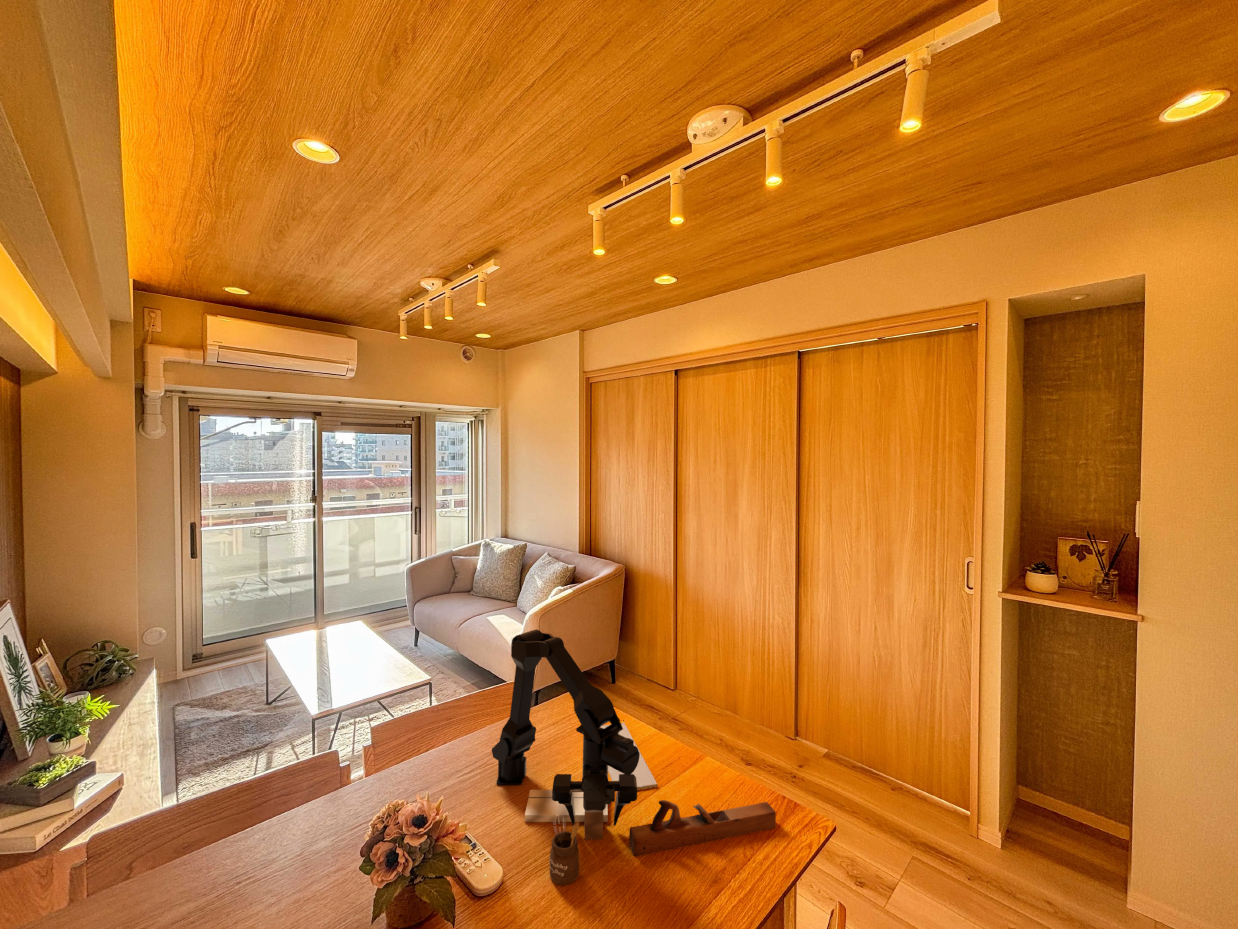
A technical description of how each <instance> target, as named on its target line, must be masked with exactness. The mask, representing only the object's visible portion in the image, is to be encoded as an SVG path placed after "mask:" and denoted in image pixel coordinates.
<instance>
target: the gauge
mask: <svg viewBox="0 0 1238 929" xmlns="http://www.w3.org/2000/svg"><path fill="white" fill-rule="evenodd" d="M583 823H584V840H586V841H587V840H604V839H603V837H604V822H603V810H602V811H599V810H590V811H586V810H585V820H584V822H583Z"/></svg>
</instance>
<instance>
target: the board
mask: <svg viewBox="0 0 1238 929" xmlns="http://www.w3.org/2000/svg"><path fill="white" fill-rule="evenodd" d="M573 796H574V809H575V823H578V821H579V823H584V820H585V809H584V808H583V792H573ZM608 805H609V804H606V808H605V809H604V810H603V823H608V815H609V814H608ZM558 814H559V820H560V822H559V820H558V816H556V815H558ZM562 816H563V817H564V818H563V817H562ZM555 817H557V818H555ZM561 818H562V819H561ZM564 819H565V820H564ZM555 820H556V823H572V822H571V819H570V816H569V813H568V811H567V809H566V807H565V805H563V804H559V803H558V801H553V800H552V789H530V790H529V794H528V799H527V803H526V808H525V813H524V822H525V823H553V821H554V823H555ZM562 820H563V821H564V822H563V821H562Z"/></svg>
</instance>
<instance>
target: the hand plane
mask: <svg viewBox="0 0 1238 929" xmlns="http://www.w3.org/2000/svg"><path fill="white" fill-rule="evenodd" d="M658 804H659V805H660V807H659V809H658V811H657V812H656V814H655V815H654V817H653V819H652V822H651V823H648V824H647V823H645V824H642V825H634V826H630V827H629V831H628V832H629V834H628V837H629V838H628V841H629V848H630V850H632V851H631V853H632V855H633V856H634V857H641V856H645V855H650V854H651V855H652V854H654V853H660V852H664V851H665V852H666V851H669V850H675V849H679V848H685V847H689V846H694V845H700V844H704V843H708V842H713V841H719V840H723V839H729V838H734V837H738V836H743V835H749V834H753V833H757V832H762V831H767V830H773V829H776V821H777V817H776V813H777V812H776V811H775V809H774V808H773V807H772V806H771V804H770V803H769V802H767V801H764V802H759V803H755V804H749V805H745V806H738V807H734V808H728V809H722V810H717V811H711V812H708V811H707V810H705V808H704V807H703V806H702V805H701V804H700V803H697V804H694V805H693V808H694V809H695V810H697V811H698V813H699V814H696V815H690V816H685V817H684V816H683V817H681V812H680V807H679V806H678V805H677V804H676V803H673V802H671V801H669V800H665V799H661V800H659V801H658ZM669 810H672V811H671V815H670V817H669V819H668V820H665V818H666V816H667V813H668V812H669Z"/></svg>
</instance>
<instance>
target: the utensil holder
mask: <svg viewBox="0 0 1238 929" xmlns="http://www.w3.org/2000/svg"><path fill="white" fill-rule="evenodd" d="M556 816H558V820H559V814H558V815H556ZM562 817H563V816H562ZM555 818H557V817H555ZM563 818H564V817H563ZM561 819H562V818H561ZM564 820H565V819H564ZM562 821H563V820H562ZM552 823H553V824H556V823H557V822H556V820H555V822H554V821H553V822H552ZM558 823H561V822H560V820H559V822H558ZM562 823H565V822H564V821H563V822H562ZM562 826H563V831H561V828H559V829H557V827H554V830H553V831H554V832H556V833H555V834H554V836H553V838H552V841H551V848H550V851H549V876H550V879H551V881H553V882H554V883H555V884H556V885H560V886H566V885H569V884H572V883H573V882H574V881H575V880H576V879H578V876H579V872H580V871H579V870H580V850H579V846H578V845H579V844H578V843H579V842H578V837H577V834H578V832H579V831H578V830H579V827H580V822H579V821H578V822H575V824H574V826H573V825H572V831H567V830H565V829H566V826H565V825H562ZM558 830H559V832H558Z"/></svg>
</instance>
